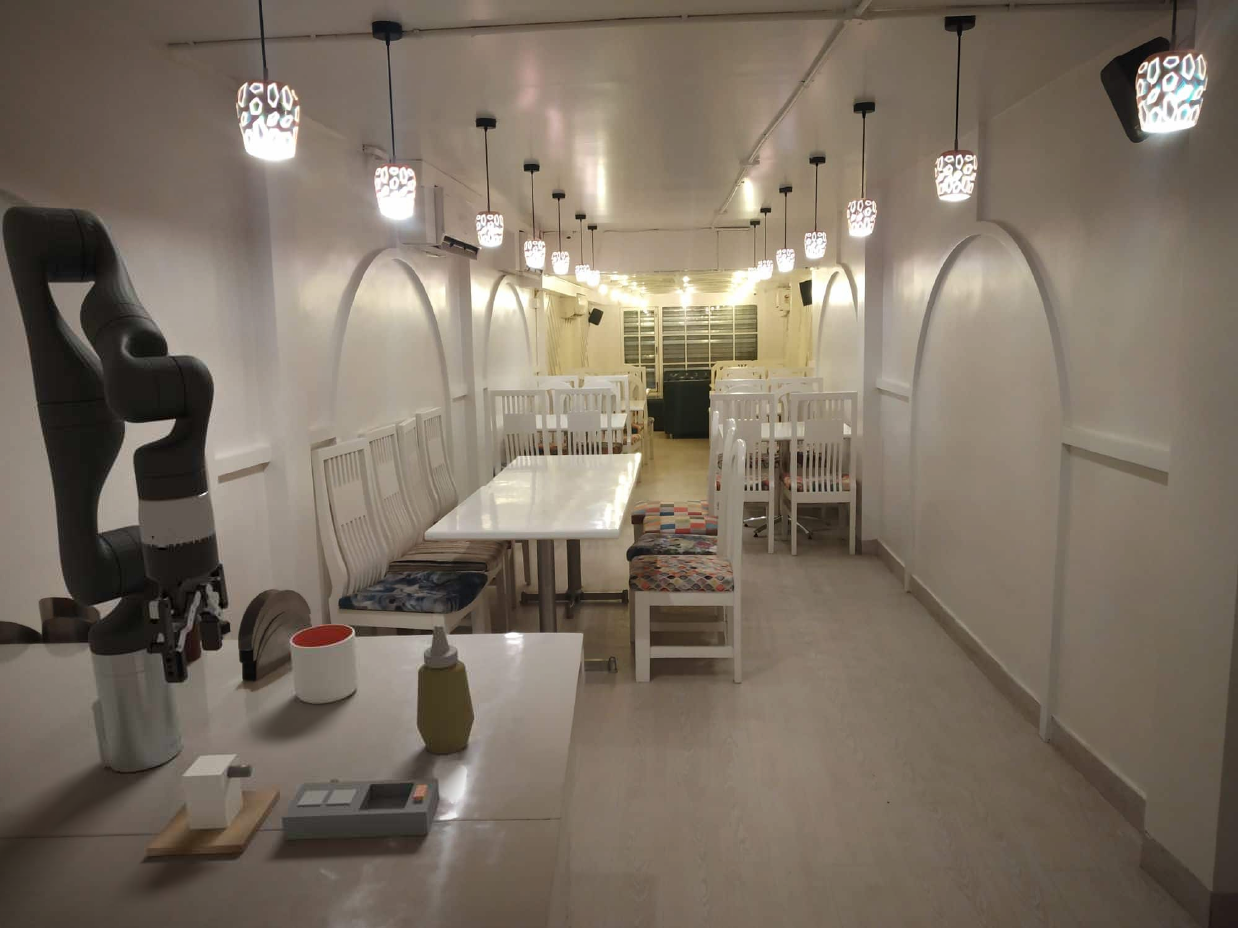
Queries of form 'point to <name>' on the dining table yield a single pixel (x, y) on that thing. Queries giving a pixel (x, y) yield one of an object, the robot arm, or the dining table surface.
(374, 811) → the power strip
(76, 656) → the dining table surface
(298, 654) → the cup
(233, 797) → the block
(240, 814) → the walnut board
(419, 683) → the squeeze bottle
